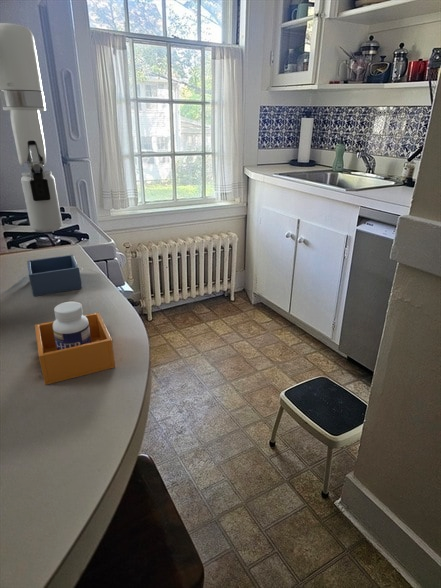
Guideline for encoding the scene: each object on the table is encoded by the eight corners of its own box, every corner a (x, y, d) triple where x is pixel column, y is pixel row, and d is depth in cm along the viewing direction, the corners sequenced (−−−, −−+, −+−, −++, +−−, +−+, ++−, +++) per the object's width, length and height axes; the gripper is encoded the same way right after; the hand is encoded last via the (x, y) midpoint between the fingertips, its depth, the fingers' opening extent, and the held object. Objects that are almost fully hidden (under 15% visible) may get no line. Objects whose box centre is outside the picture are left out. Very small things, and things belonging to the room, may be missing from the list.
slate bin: (33, 296, 85) (28, 275, 83) (31, 280, 93) (26, 260, 91) (82, 288, 89) (78, 267, 87) (75, 273, 98) (72, 254, 95)
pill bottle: (52, 364, 61) (42, 314, 57) (66, 346, 66) (58, 299, 62) (86, 366, 61) (77, 315, 57) (97, 347, 65) (90, 300, 62)
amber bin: (45, 385, 57) (38, 356, 55) (40, 350, 66) (34, 324, 63) (115, 367, 61) (111, 339, 59) (102, 337, 70) (99, 312, 68)
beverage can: (59, 232, 83) (49, 173, 78) (27, 233, 82) (15, 174, 77) (65, 225, 88) (56, 169, 83) (35, 226, 87) (24, 170, 82)
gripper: (2, 103, 80) (20, 191, 88) (0, 100, 66) (22, 206, 74) (41, 103, 83) (56, 189, 91) (48, 101, 69) (64, 203, 77)
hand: (40, 196), depth 82 cm, fingers closed on beverage can, 6 cm apart
